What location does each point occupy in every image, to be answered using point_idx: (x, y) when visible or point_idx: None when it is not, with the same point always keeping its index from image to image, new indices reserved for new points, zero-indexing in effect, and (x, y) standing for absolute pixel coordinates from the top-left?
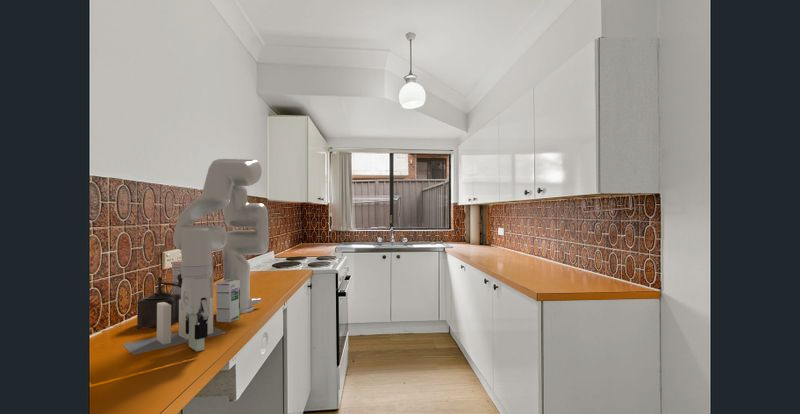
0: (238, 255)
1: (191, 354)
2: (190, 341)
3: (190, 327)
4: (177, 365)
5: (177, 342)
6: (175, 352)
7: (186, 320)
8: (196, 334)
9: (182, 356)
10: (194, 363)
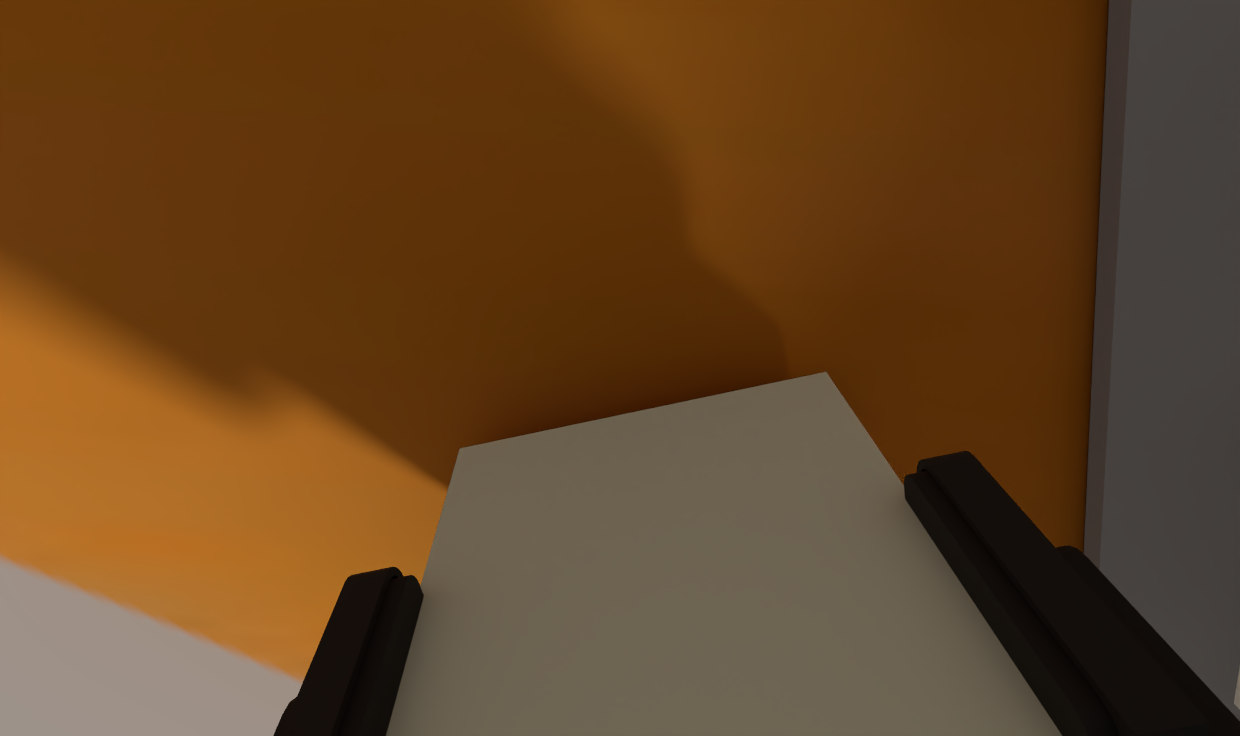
0: None
1: (499, 362)
2: (763, 441)
3: (850, 646)
4: (20, 114)
5: (1235, 228)
6: (772, 148)
7: (1133, 734)
8: (322, 672)
9: (475, 232)
10: (24, 358)
